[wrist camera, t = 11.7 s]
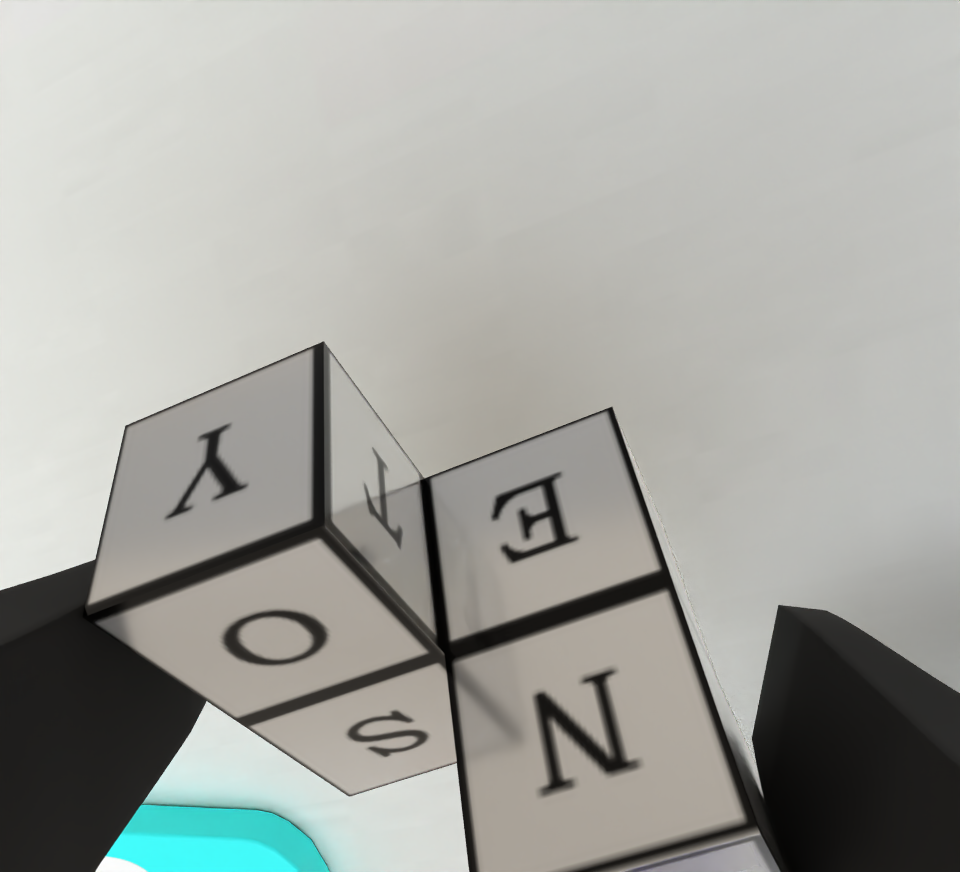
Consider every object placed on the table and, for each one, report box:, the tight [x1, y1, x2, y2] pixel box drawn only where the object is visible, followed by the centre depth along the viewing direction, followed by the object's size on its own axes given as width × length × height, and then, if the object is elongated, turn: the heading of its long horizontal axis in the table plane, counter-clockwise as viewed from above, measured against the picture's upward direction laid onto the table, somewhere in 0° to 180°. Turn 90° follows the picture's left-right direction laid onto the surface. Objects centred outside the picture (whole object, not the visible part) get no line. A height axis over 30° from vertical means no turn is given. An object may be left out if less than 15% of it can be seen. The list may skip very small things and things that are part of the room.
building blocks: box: [83, 342, 789, 872], centre depth 11 cm, size 5×5×8 cm
